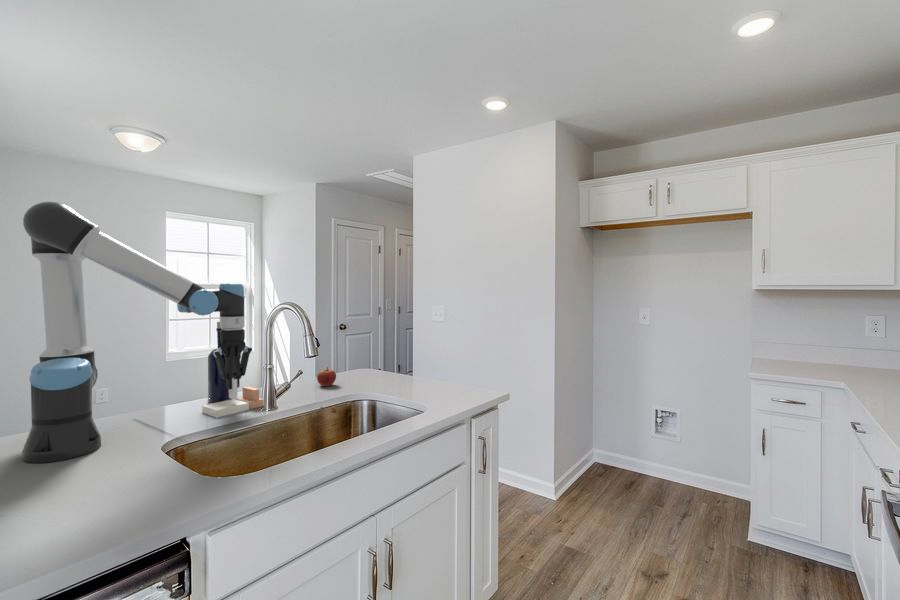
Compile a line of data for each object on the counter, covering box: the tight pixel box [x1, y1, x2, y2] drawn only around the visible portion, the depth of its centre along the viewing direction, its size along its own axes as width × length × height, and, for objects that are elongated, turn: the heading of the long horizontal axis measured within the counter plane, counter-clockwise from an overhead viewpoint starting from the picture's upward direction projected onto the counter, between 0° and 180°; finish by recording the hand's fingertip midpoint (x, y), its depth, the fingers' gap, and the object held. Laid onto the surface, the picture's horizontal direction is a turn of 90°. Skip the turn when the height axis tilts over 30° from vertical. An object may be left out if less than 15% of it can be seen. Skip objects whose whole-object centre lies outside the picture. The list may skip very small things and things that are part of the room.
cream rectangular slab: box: [201, 399, 250, 418], centre depth 145 cm, size 11×9×2 cm
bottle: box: [207, 320, 234, 404], centre depth 158 cm, size 9×9×30 cm
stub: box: [236, 386, 264, 410], centre depth 152 cm, size 5×9×6 cm, turn 55°
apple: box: [316, 367, 337, 387], centre depth 188 cm, size 8×8×8 cm
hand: (233, 397), depth 147 cm, fingers closed
